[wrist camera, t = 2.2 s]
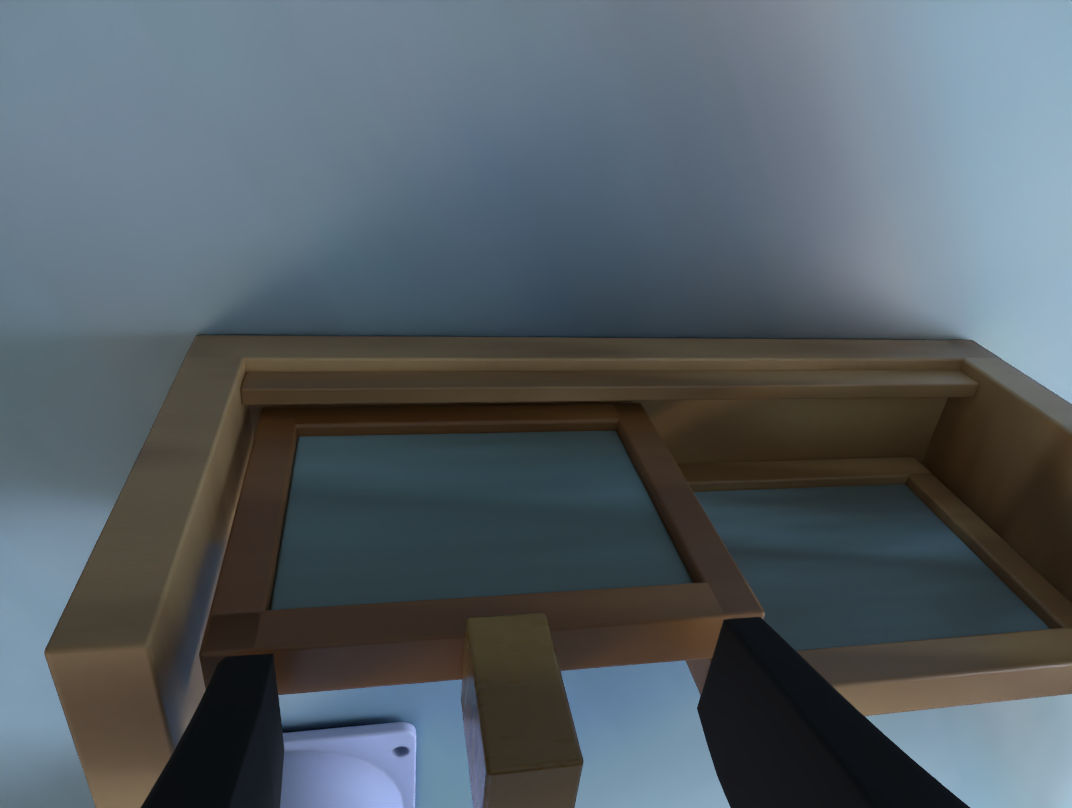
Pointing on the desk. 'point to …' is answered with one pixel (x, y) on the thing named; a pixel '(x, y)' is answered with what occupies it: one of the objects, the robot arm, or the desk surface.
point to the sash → (471, 567)
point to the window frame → (708, 466)
